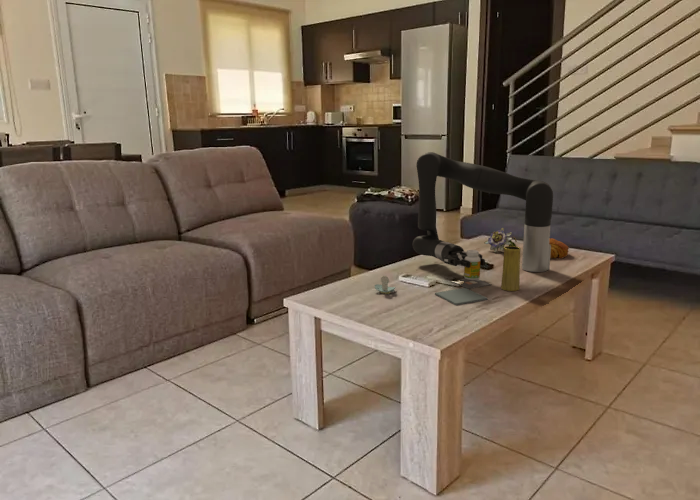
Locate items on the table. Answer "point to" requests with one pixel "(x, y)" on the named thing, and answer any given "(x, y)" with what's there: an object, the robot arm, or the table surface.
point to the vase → (511, 268)
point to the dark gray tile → (473, 283)
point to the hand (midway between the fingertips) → (476, 263)
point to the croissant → (558, 249)
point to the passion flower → (500, 240)
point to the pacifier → (385, 286)
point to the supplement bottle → (472, 265)
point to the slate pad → (460, 296)
